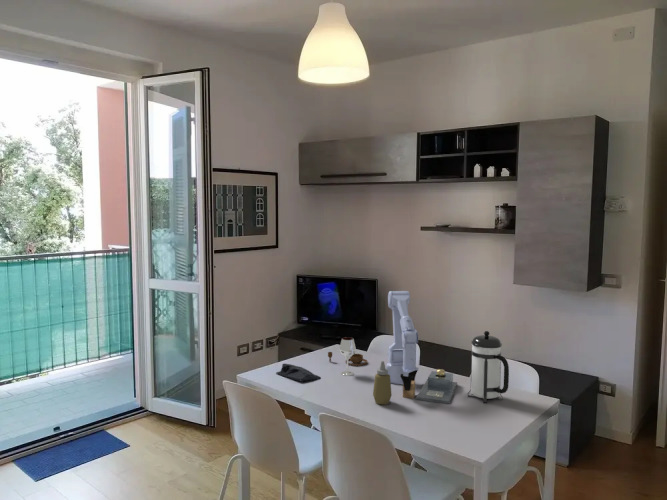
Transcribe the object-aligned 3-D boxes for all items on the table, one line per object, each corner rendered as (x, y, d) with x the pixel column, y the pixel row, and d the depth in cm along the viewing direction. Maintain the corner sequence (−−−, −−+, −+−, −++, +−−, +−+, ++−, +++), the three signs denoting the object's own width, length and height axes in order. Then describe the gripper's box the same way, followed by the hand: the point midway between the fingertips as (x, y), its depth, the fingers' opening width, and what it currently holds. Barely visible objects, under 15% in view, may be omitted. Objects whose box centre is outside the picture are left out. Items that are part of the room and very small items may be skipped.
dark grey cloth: (297, 385, 237) (297, 375, 237) (274, 373, 255) (274, 364, 254) (323, 379, 246) (323, 369, 246) (299, 368, 264) (299, 359, 264)
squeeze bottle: (379, 407, 210) (379, 365, 208) (369, 400, 217) (369, 360, 216) (395, 404, 214) (395, 362, 212) (384, 397, 221) (385, 357, 219)
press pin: (436, 377, 235) (436, 370, 234) (437, 375, 238) (437, 368, 238) (443, 378, 233) (444, 371, 233) (445, 376, 237) (445, 369, 236)
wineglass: (358, 372, 255) (358, 338, 254) (350, 377, 248) (350, 341, 247) (344, 370, 259) (344, 336, 258) (336, 374, 253) (336, 339, 251)
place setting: (356, 370, 261) (356, 359, 261) (325, 363, 273) (325, 352, 273) (373, 362, 276) (374, 351, 275) (343, 356, 287) (343, 346, 287)
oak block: (402, 397, 222) (403, 382, 221) (405, 393, 226) (405, 379, 226) (412, 398, 220) (413, 384, 220) (415, 395, 224) (415, 380, 224)
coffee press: (465, 402, 216) (467, 333, 214) (469, 390, 231) (471, 326, 229) (507, 407, 210) (509, 337, 208) (509, 395, 225) (511, 329, 223)
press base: (416, 399, 219) (416, 387, 218) (427, 381, 243) (427, 370, 243) (448, 404, 214) (449, 392, 213) (457, 384, 238) (457, 374, 238)
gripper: (415, 363, 214) (414, 394, 215) (421, 354, 227) (421, 383, 228) (398, 361, 216) (398, 391, 217) (406, 352, 230) (406, 381, 231)
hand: (409, 387), depth 223 cm, fingers open, 7 cm apart
